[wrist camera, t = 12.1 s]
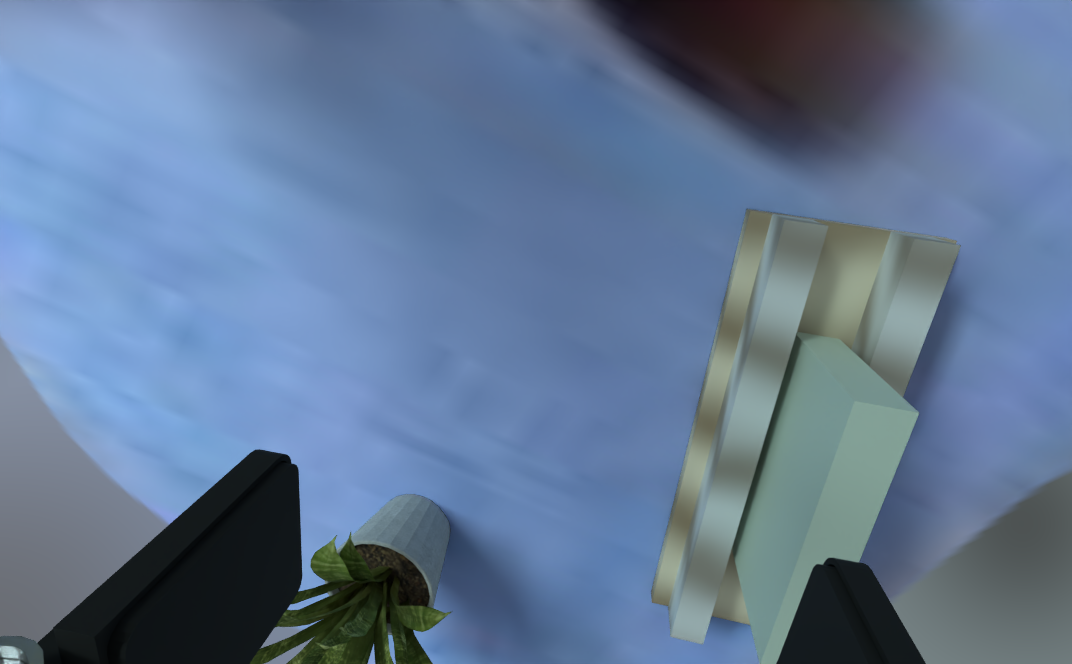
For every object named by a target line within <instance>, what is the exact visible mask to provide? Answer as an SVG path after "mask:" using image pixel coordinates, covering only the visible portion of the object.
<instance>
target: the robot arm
mask: <svg viewBox="0 0 1072 664" xmlns="http://www.w3.org/2000/svg"><path fill="white" fill-rule="evenodd" d="M301 581H302V556H301V528H300V499H299V472H298V467H297V465H295V464H291V459H290V457H289V456H288V455H286V454H281V453H275V452H270V451H265V450H254V451H253V452H251V453H250V454H249V455H248V456H247V457H245V458H244V459H243V460H242V461H241V462H240V463H239V464H237V465H236V466H235V467H234V468H233V469H232V470H231V471H230V472H228V473H227V474H226V475H225V476H224V477H223V478H222V479H221V480H219V481H218V482H217V483H216V484H215V485H214V486H213V487H211V488H210V489H209V490H208V491H207V492H206V493H205V494H204V495H202V496H201V497H200V498H199V499H198V500H197V501H196V502H195V503H193V504H192V505H191V506H190V507H189V508H188V509H187V510H186V511H184V512H183V513H182V514H181V515H180V516H179V517H178V518H176V519H175V520H174V521H173V522H172V523H171V524H170V525H169V526H167V527H166V528H165V529H164V530H163V531H162V532H161V533H160V534H158V535H157V536H156V537H155V538H154V539H153V540H152V541H151V542H150V543H148V544H147V545H146V546H145V547H144V548H143V549H142V550H140V551H139V552H138V553H137V554H136V555H135V556H134V557H132V558H131V559H130V560H129V561H128V562H127V563H126V564H124V565H123V566H122V567H121V568H120V569H119V570H118V571H117V572H115V573H114V574H113V575H112V576H111V577H110V578H109V579H108V580H107V581H106V582H104V583H103V584H102V585H101V586H100V587H99V588H97V589H96V590H95V591H94V592H93V593H92V594H91V595H90V596H88V597H87V598H86V599H85V600H84V601H83V602H82V603H80V605H78V606H77V607H76V608H75V609H74V610H73V611H71V612H70V613H69V614H68V615H67V616H66V617H65V618H63V619H62V620H61V621H60V622H59V623H58V624H57V625H56V626H55V627H53V629H52V630H51V631H50V632H49V633H48V634H47V635H46V636H45V637H44V638H42V639H41V640H40V641H39V642H38V643H36V641H34V640H31V639H28V638H25V637H22V636H1V637H0V664H250V662H251V661H252V659H253V658H254V656H255V655H256V654H257V652H258V651H259V649H260V648H261V646H262V645H263V643H264V642H265V640H266V639H267V638H268V636H269V634H270V633H271V632H272V630H273V629H274V627H275V626H276V624H277V623H278V621H279V620H280V619H281V617H282V616H283V614H284V613H285V611H286V610H287V608H288V607H289V605H290V604H291V603H292V601H293V600H294V598H295V596H296V595H297V593H298V590H299V588H300V585H301ZM776 664H926V663H925V661H924V660H923V658H922V657H921V655H920V653H919V651H918V649H917V648H916V646H915V644H914V643H913V641H912V639H911V637H910V636H909V634H908V632H907V630H906V629H905V627H904V625H903V623H902V622H901V620H900V619H899V617H898V615H897V613H896V611H895V610H894V608H893V606H892V604H891V603H890V601H889V599H888V597H887V596H886V594H885V592H884V591H883V589H882V587H881V585H880V584H879V582H878V580H877V578H876V577H875V575H874V573H873V572H872V570H871V569H870V567H869V566H868V565H866V564H864V563H859V562H853V561H848V560H843V559H838V558H828V559H827V560H825V562H824V564H823V565H822V564H816V565H815V566H814V567H813V569H812V572H811V574H810V577H809V579H808V582H807V585H806V587H805V590H804V593H803V595H802V598H801V600H800V603H799V606H798V608H797V611H796V614H795V616H794V619H793V621H792V624H791V627H790V629H789V632H788V635H787V637H786V640H785V642H784V645H783V648H782V650H781V653H780V656H779V658H778V661H777V663H776Z"/></svg>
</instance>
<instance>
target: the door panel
mask: <svg viewBox="0 0 1072 664" xmlns="http://www.w3.org/2000/svg"><path fill="white" fill-rule="evenodd" d="M918 415H919V412H918V411H917V410H916V409H915V408H913V407H912V406H911V405H910V404H909V403H908V402H907V401H906V400H905V399H904V398H903V397H902V396H900V395H899V394H898V393H897V392H896V391H895V390H894V389H893V388H892V387H891V386H890V385H889V384H888V383H886V382H885V381H884V380H883V379H882V378H881V377H880V376H879V375H878V374H877V373H876V372H875V371H873V370H872V369H871V368H870V367H869V366H868V365H867V364H866V363H865V362H864V361H863V360H862V359H861V358H859V357H858V356H857V355H856V354H855V353H854V352H853V351H852V350H851V349H850V348H849V347H848V346H846V345H845V344H844V343H843V342H842V341H841V340H840V339H837V338H831V337H825V336H819V335H814V334H808V333H802V332H797V333H796V336H795V340H794V343H793V346H792V350H791V353H790V356H789V360H788V363H787V366H786V370H785V373H784V376H783V380H782V383H781V386H780V390H779V393H778V396H777V400H776V403H775V406H774V410H773V413H772V416H771V420H770V423H769V426H768V430H767V433H766V436H765V440H764V443H763V446H762V450H761V453H760V456H759V460H758V463H757V466H756V470H755V473H754V476H753V480H752V483H751V486H750V490H749V493H748V496H747V499H746V503H745V506H744V509H743V513H742V516H741V519H740V523H739V526H738V529H737V533H736V536H735V539H734V543H733V546H732V552H733V556H734V560H735V564H736V568H737V572H738V576H739V580H740V585H741V589H742V593H743V597H744V601H745V605H746V609H747V613H748V617H749V622H750V626H751V630H752V634H753V638H754V642H755V646H756V650H757V655H758V659H759V663H760V664H776V663H777V661H778V658H779V656H780V653H781V650H782V648H783V645H784V642H785V640H786V637H787V635H788V632H789V629H790V627H791V624H792V621H793V619H794V616H795V614H796V611H797V608H798V606H799V603H800V600H801V598H802V595H803V593H804V590H805V587H806V585H807V582H808V579H809V577H810V574H811V572H812V569H813V567H814V566H815V565H816V564H822V565H823V564H824V562H825V560H827V559H828V558H838V559H843V560H848V561H853V562H859V561H860V558H861V556H862V553H863V551H864V549H865V546H866V544H867V541H868V539H869V536H870V534H871V531H872V529H873V526H874V524H875V521H876V519H877V516H878V514H879V511H880V509H881V507H882V504H883V502H884V499H885V497H886V494H887V492H888V489H889V487H890V484H891V482H892V479H893V477H894V474H895V472H896V469H897V467H898V465H899V462H900V460H901V457H902V455H903V452H904V450H905V447H906V445H907V442H908V440H909V437H910V435H911V432H912V430H913V427H914V425H915V422H916V420H917V418H918Z"/></svg>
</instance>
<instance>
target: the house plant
mask: <svg viewBox="0 0 1072 664" xmlns="http://www.w3.org/2000/svg"><path fill="white" fill-rule="evenodd" d="M336 536H337V535H336ZM336 536H335V537H334V538H333V540H332V541H331V542H329V543H328V544H327V545H325V546H324V547H322V548H321V549H319V550H318V551H316V552H315V554H314V555H313V557H312V559H311V568H312V570H313V572H314V573H315V574H316V575H317V576H319V577H320V578H322V579H323V580H325V584H324V585H321V586H318V587H315V588H312V589H308V590H304V591H299V592H298V593H297V595H296V596H295V598H294V600H293V601H292V603H291V604H295V603H298V602H301V601H304V600H306V599H309V598H312V597H315V596H318V595H321V594H324V593H327V592H328V594H329V597H327V598H324V599H322V600H320V601H318V602H315V603H313V604H311V605H309V606H306V607H304V608H302V609H300V610H286V611H285V613H284V614H283V616H282V617H281V619H280V620H279V621H278V623H277V624H276V626H275V627H278V626H280V627H294V626H301V625H307V624H311V623H314V622H316V621H319V620H321V621H319V622H317V623H315V624H313V625H312V626H310V627H308V628H306V629H304V630H302V631H300V632H299V633H297V634H295V635H293V636H291V637H289V638H287V639H285V640H282V641H279V642H277V643H275V644H272V645H269V646H266V647H264V648H261V649H259V651H258V652H257V654H256V655H255V656H254V658H253V659H252V661H251V662H250V664H264V663H266V662H269V661H270V660H272V659H274V658H276V657H277V656H279V655H281V654H283V653H285V652H286V651H288V650H290V649H292V648H294V647H296V646H298V645H300V644H302V643H304V642H305V641H308V640H309V639H311V638H313V637H314V638H313V639H312V640H311V641H310V642H309V643H308V644H307V645H306V646H305V647H304V648H303V650H302V651H300V652H299V653H298V654H297V655H296V656H295V657H294V658H293V659H291V660H290V661H289V662H288V663H287V664H367V663H368V660H369V657H370V654H371V650H372V647H373V644H374V650H375V664H394V663H393V661H392V658H391V656H390V651H389V642H388V635H392V636H393V641H394V649H395V659H396V664H432V662H431V661H430V659H429V657H428V656H427V654H426V653H425V651H424V650H423V648H422V647H421V645H420V644H419V642H418V640H417V638H416V637H415V635H414V632H413V630H415V631H421V632H424V631H426V630H429V629H431V628H432V627H433V626H435V625H436V624H437V623H439V622H440V621H441V620H442V619H443V618H444V617H446V616H447V615H448V614H450V613H451V612H447V613H443V612H441V611H439V610H436V609H434V608H433V606H434V602H435V597H436V593H437V589H438V584H439V580H440V576H441V572H442V567H443V563H444V559H445V554H446V550H447V546H448V542H449V537H450V525H449V521H448V520H447V518H446V516H445V515H444V513H443V512H442V511H441V510H440V508H439V507H438V506H437V505H436V504H435V503H434V502H433V501H431V500H429V499H427V498H425V497H422V496H418V495H414V494H405V495H401V496H397V497H395V498H393V499H392V500H390V501H389V502H388V503H387V504H386V505H385V506H384V507H382V508H381V509H380V510H379V511H378V512H377V513H376V514H375V515H374V516H373V517H372V518H371V519H369V520H368V521H367V522H366V523H365V524H364V525H363V526H362V527H361V528H360V529H359V530H357V531H356V532H355V533H354V534H353V535H352V536H351V532H350V536H349V539H348V540H347V541H346V542H344V543H343V544H342V545H341V546H340V547H339V548H338V549H337V550H336V547H335V543H334V542H335V539H336ZM322 619H323V620H322ZM275 627H274V628H275Z"/></svg>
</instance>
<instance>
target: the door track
mask: <svg viewBox="0 0 1072 664" xmlns="http://www.w3.org/2000/svg"><path fill="white" fill-rule="evenodd" d="M956 242H957V241H956V240H952V239H949V238H944V237H937V236H930V235H923V234H916V233H909V232H902V231H896V230H889V229H882V228H875V227H868V226H861V225H854V224H848V223H841V222H834V221H827V220H820V219H813V218H806V217H799V216H793V215H786V214H779V213H772V212H765V211H758V210H751V209H747V210H746V214H745V218H744V222H743V226H742V230H741V234H740V238H739V242H738V246H737V250H736V254H735V258H734V262H733V266H732V270H731V274H730V278H729V282H728V286H727V290H726V294H725V298H724V302H723V306H722V310H721V314H720V318H719V322H718V326H717V330H716V334H715V338H714V342H713V346H712V350H711V354H710V358H709V362H708V366H707V370H706V374H705V378H704V382H703V386H702V390H701V394H700V398H699V402H698V406H697V410H696V414H695V418H694V422H693V426H692V430H691V434H690V438H689V442H688V446H687V450H686V454H685V458H684V462H683V466H682V470H681V474H680V478H679V482H678V486H677V490H676V494H675V498H674V502H673V506H672V510H671V514H670V518H669V522H668V526H667V530H666V534H665V538H664V542H663V546H662V550H661V554H660V558H659V562H658V566H657V570H656V574H655V578H654V582H653V586H652V590H651V597H652V603H657V604H661V605H666V606H668V610H669V623H670V637H673V638H678V639H682V640H686V641H690V642H695V643H699V644H703V643H704V639H705V636H706V633H707V629H708V626H709V623H710V619H711V616H713V617H718V618H722V619H726V620H731V621H735V622H739V623H744V624H748V625H750V622H749V617H748V613H747V609H746V605H745V601H744V597H743V593H742V589H741V585H740V580H739V576H738V572H737V568H736V564H735V560H734V556H733V552H732V546H733V543H734V539H735V536H736V533H737V529H738V526H739V523H740V519H741V516H742V513H743V509H744V506H745V503H746V499H747V496H748V493H749V490H750V486H751V483H752V480H753V476H754V473H755V470H756V466H757V463H758V460H759V456H760V453H761V450H762V446H763V443H764V440H765V436H766V433H767V430H768V426H769V423H770V420H771V416H772V413H773V410H774V406H775V403H776V400H777V396H778V393H779V390H780V386H781V383H782V380H783V376H784V373H785V370H786V366H787V363H788V360H789V356H790V353H791V350H792V346H793V343H794V340H795V336H796V333H797V332H802V333H808V334H814V335H819V336H825V337H831V338H837V339H840V340H841V341H842V342H843V343H844V344H845V345H846V346H848V347H849V348H850V349H851V350H852V351H853V352H854V353H855V354H856V355H857V356H858V357H859V358H861V359H862V360H863V361H864V362H865V363H866V364H867V365H868V366H869V367H870V368H871V369H872V370H873V371H875V372H876V373H877V374H878V375H879V376H880V377H881V378H882V379H883V380H884V381H885V382H886V383H888V384H889V385H890V386H891V387H892V388H893V389H894V390H895V391H896V392H897V393H898V394H899V395H900V396H902V397H903V395H904V393H905V390H906V388H907V385H908V382H909V380H910V377H911V375H912V372H913V369H914V367H915V364H916V362H917V359H918V356H919V354H920V351H921V348H922V346H923V343H924V341H925V338H926V335H927V333H928V330H929V328H930V325H931V322H932V320H933V317H934V315H935V312H936V309H937V307H938V304H939V301H940V299H941V296H942V294H943V291H944V288H945V286H946V283H947V281H948V278H949V275H950V273H951V270H952V267H953V265H954V262H955V260H956V257H957V254H958V252H959V249H960V247H961V245H957V244H956Z"/></svg>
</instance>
